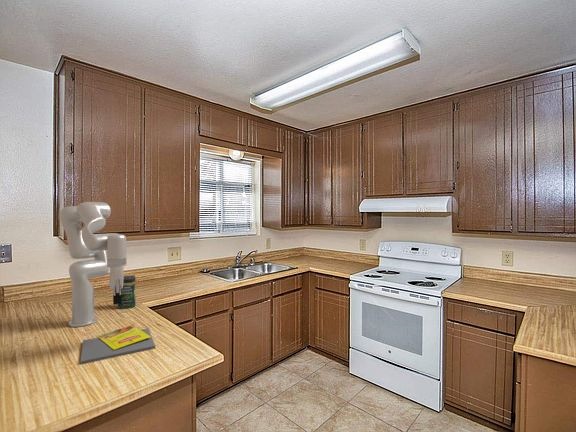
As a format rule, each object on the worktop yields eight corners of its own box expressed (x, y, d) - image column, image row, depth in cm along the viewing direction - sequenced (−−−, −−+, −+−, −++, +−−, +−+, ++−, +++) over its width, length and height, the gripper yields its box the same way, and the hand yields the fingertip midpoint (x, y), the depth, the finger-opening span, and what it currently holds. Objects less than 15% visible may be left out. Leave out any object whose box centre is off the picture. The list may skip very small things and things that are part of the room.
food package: (132, 324, 150) (151, 335, 136) (132, 326, 150) (151, 338, 136) (96, 335, 138) (113, 348, 125) (97, 337, 138) (113, 351, 125)
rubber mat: (83, 342, 135) (83, 340, 135) (148, 330, 148) (148, 328, 148) (80, 364, 116) (80, 361, 116) (155, 348, 130) (155, 345, 129)
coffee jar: (116, 309, 178) (116, 277, 178) (119, 305, 186) (118, 274, 185) (135, 307, 182) (135, 276, 181) (136, 304, 189) (136, 273, 189)
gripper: (106, 260, 141) (107, 300, 142) (107, 266, 128) (108, 309, 129) (125, 259, 145) (125, 298, 146) (127, 264, 132) (128, 306, 133)
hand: (117, 303), depth 137 cm, fingers closed
